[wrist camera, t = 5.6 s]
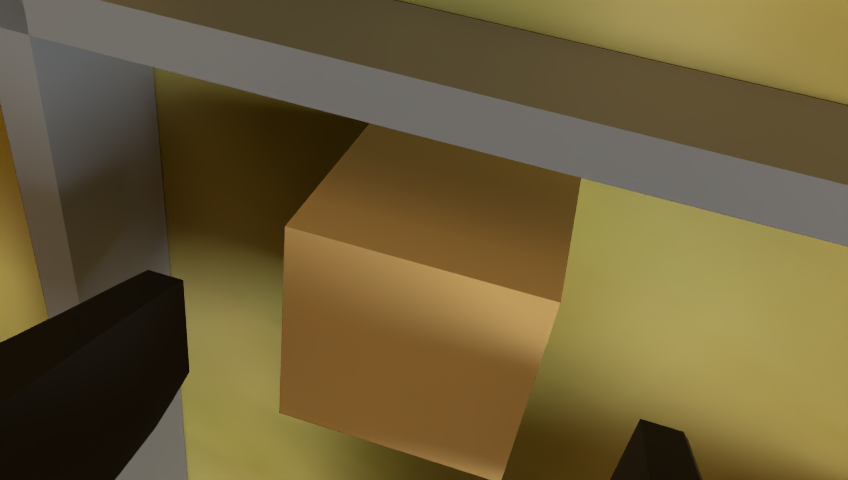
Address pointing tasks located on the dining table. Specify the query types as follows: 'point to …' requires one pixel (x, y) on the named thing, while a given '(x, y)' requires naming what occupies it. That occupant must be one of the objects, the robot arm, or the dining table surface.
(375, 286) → the brown cube
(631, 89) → the grey piece
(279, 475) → the dining table surface
